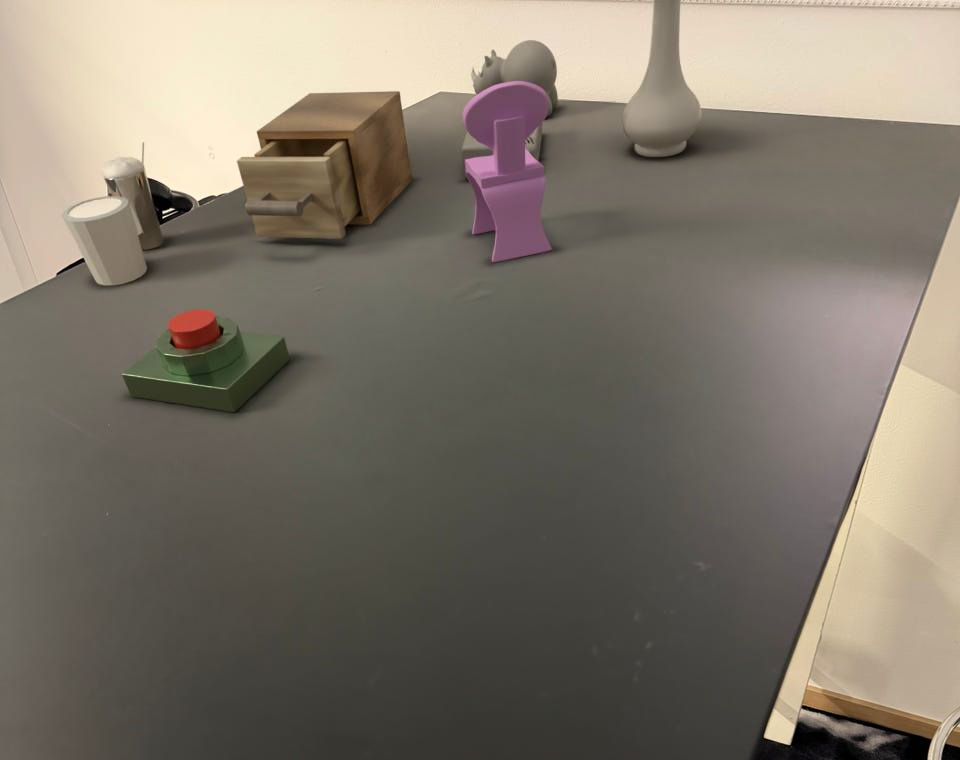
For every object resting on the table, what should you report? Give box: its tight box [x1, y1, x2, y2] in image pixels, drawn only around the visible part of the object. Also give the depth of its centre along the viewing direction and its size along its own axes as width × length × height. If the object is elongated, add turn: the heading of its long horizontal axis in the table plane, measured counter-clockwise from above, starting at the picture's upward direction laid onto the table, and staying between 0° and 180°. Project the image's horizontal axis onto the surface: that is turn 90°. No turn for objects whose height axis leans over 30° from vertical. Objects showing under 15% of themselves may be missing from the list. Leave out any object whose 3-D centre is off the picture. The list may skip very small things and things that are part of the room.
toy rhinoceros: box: [470, 39, 559, 117], centre depth 118 cm, size 7×12×8 cm, turn 72°
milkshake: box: [101, 141, 165, 251], centre depth 97 cm, size 4×5×10 cm
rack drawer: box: [236, 139, 361, 240], centre depth 95 cm, size 17×10×8 cm, turn 162°
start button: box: [167, 308, 221, 349], centre depth 74 cm, size 4×4×2 cm
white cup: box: [61, 195, 148, 286], centre depth 93 cm, size 7×7×7 cm
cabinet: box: [256, 90, 413, 226], centre depth 101 cm, size 14×12×10 cm
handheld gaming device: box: [461, 122, 543, 177], centre depth 108 cm, size 9×15×4 cm, turn 175°
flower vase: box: [621, 0, 703, 158], centre depth 97 cm, size 13×18×25 cm
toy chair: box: [462, 81, 553, 263], centre depth 86 cm, size 8×9×15 cm
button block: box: [121, 316, 291, 413], centre depth 75 cm, size 11×9×4 cm
